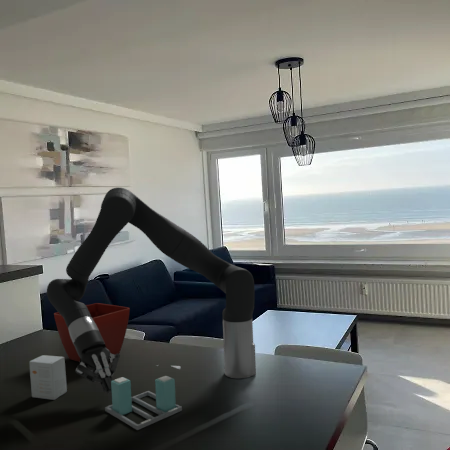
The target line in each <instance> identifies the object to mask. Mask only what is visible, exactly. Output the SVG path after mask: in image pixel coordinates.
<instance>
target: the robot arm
mask: <svg viewBox="0 0 450 450" xmlns="http://www.w3.org/2000/svg"><path fill="white" fill-rule="evenodd" d="M128 224H130V225H132V226H133V227H135V228H137V229H138V230H139V231H141V232H142V233H143V235H145V236H146V237H147V238H148V239H149V240H150V242H151V243H152V244H153V245H154V246H155V247H156V248H157V249H158V250H159V252H161V253H163V254H164V255H165V256H167V257H168V258H170V259H171V260H173V261H175V262H176V263H178V264H179V265H181V266H184V267H186V268H187V269H189V270H192V271H194V272H195V273H198V274H200V275H201V276H203V277H205V278H206V279H207V280H209V281H210V282H211V283H213V284H214V285H215V286H216V287H217V288H218V289H220V291H222V292H223V293H224V294H225V308H223V310H222V334H223V335H222V337H223V338H222V340H223V364H224V366H223V369H224V375H225V376H226V377H228V378H231V379H239V380H240V379H247V378H250V377H252V376H256V375H257V368H256V367H257V366H256V365H257V363H256V344H255V343H254V333H253V332H254V330H253V329H254V328H253V313H254V309H255V293H256V292H255V290H256V289H255V280H254V276H253V274H252V273H251V272H250V271H249V270H247V269H246V268H242V267H240V266H236V265H234V264H232V263H231V262H228V261H226V260H224V259H222V258H221V257H219V256H217V255H216V254H214V253H213V252H212V251H211V250H210V249H209V248H208V247H207V246H206V245H205V244H204V243H203V242H202V241H201V240H199V239H198V238H197V237H196V236H194V235H193V234H191V233H190V232H188V231H187V230H185V229H184V228H182V227H181V226H179V225H177V224H176V223H174V222H173V221H171V220H170V219H168V218H167V217H166V216H164V215H162V214H160V213H159V212H157V211H155V210H154V209H153V208H151V207H150V206H149V205H148V204H146V203H145V202H144V201H143V200H142V199H141V198H139V197H138V196H137V195H136V194H135V193H133V192H132V191H130V190H129V189H127V188H124V187H112V188H111V189H109V190H108V191H107V192H106V193H105V196H104V197H103V200H102V202H101V205H100V210H99V212H98V216H97V218H96V220H95V224H93V227H92V229H91V230H90V232H89V234H88V235H87V237H86V238H85V239H84V240H83V241H82V243H81V244H80V245H79V246H78V248H77V249H76V251H75V253H74V254H73V256H72V257H71V259H70V260H69V262H68V264H67V265H66V269H65V272H66V275H67V276H68V277H69V278H68V279H67V278H55V279H53V280H51V281H50V282H49V283H48V285H47V287H46V296H47V298H48V301H49V303H50V304H51V305H52V306H53V307H54V308H55V310H56V312H59V314H60V315H61V316H62V317H63V318H64V320H65V323H66V325H67V327H68V330H69V333H70V337H71V339H72V341H73V344H74V346H75V348H76V351H77V353H78V355H79V357H80V362H79V364H78V365H77V367H76V368H75V370H74V372H75V373H76V374H77V375H79V376H81V377H82V378H84V379H86V380H88V381H89V382H91V383H95V382H98V383H99V384H100V386H101V389H102V390H103V392H104V393H106V394H107V395H109V394H112V388H111V381H113V376H114V374H115V373H116V370H117V368H118V363H119V360H120V353H119V354H118V353H117V354H116V355H114V354H111V353H110V351H109V350H108V349H107V348H106V346H105V342H104V340H103V338H102V336H101V334H100V332H99V329H98V327H97V325H96V323H95V322H94V320H93V319H92V317H91V315H90V313H89V310H88V308H87V307H86V305H87V304H85V303H83V302H81V299H82V298H83V297H84V295H85V293H86V289H87V287H88V282H89V278H90V276H91V275H92V274H93V272H94V270H95V268H96V267H97V265H98V264H99V262H100V261H101V259H102V257H103V256H104V254H105V252H106V251H107V249H108V248H109V246H110V244H111V243H112V242H113V240H114V239H115V238H116V237H117V236H118V234H120V232H122V230H123V229H124V228H125V227H126V226H127V225H128ZM70 278H71V279H70ZM109 361H110V363H111V364H110V366H109Z"/></svg>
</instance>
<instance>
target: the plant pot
mask: <svg viewBox="0 0 450 450" xmlns="http://www.w3.org/2000/svg"><path fill="white" fill-rule="evenodd" d="M85 305H86V307H87V308H88V310H89V313H90V315H91V317H92V319H93V320H94V322H95V323H96V325H97V327H98V329H99V332H100V334H101V336H102V338H103V340H104V342H105V346H106V348H107V349H108V350H109V351H110V353H111V354H114V355H116V354H117V353H118V354H119V355H120V353H121V349H122V347H123V344H124V340H125V336H126V333H127V329H128V324H129V320H130V310H131V309H130V307H127V306H121V305H120V306H119V305H116V304H115V305H114V304H108V303H107V304H106V303H99V302H95V303H92V304H85ZM53 315H54V316H53V317H54V321H55V325H56V328H57V332H58V336H59V338H60V340H61V345H62V347H63V348H64V350H65V353H66V355H67V357H68V359H69V360H72V361H75V362H79V363H80V357H79V355H78V353H77V351H76V348H75V346H74V344H73V341H72V339H71V337H70V333H69V330H68V327H67V325H66V323H65V320H64V318H63V317H62V316H61V315H60V314H59V312H58V311H56V312H54V313H53Z"/></svg>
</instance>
